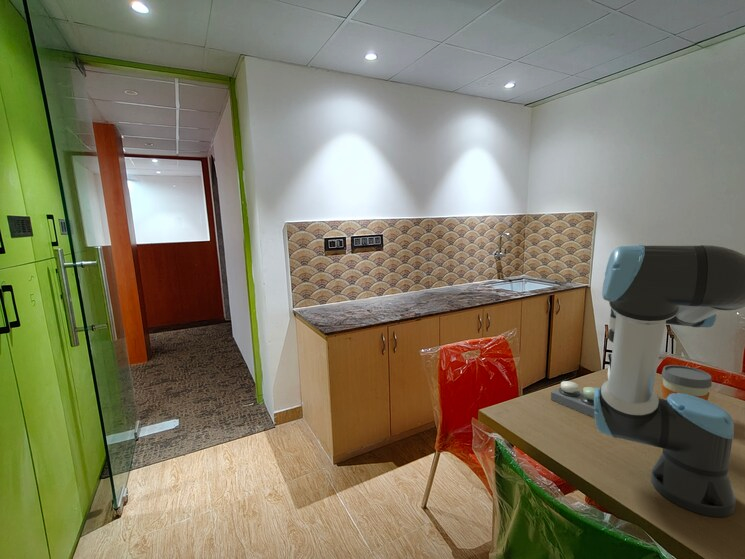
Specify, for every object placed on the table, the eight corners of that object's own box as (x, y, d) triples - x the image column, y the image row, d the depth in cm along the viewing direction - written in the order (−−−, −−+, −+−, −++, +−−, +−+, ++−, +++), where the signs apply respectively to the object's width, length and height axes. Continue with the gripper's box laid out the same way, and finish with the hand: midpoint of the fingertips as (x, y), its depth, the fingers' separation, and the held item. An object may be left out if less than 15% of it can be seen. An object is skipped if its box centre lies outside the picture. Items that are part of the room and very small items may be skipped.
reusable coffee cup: (717, 425, 111) (723, 381, 109) (672, 422, 114) (676, 379, 112) (690, 405, 124) (695, 365, 121) (650, 403, 126) (654, 363, 124)
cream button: (572, 394, 126) (573, 389, 126) (557, 388, 131) (557, 383, 130) (581, 390, 129) (581, 385, 129) (565, 384, 134) (566, 379, 133)
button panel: (623, 429, 111) (623, 419, 111) (550, 399, 131) (551, 390, 131) (637, 419, 116) (637, 409, 116) (565, 392, 136) (565, 383, 136)
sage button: (596, 401, 119) (597, 395, 119) (579, 395, 124) (580, 389, 124) (604, 396, 122) (605, 391, 122) (588, 390, 127) (588, 385, 126)
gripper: (627, 337, 106) (621, 409, 110) (645, 328, 113) (640, 396, 116) (600, 331, 112) (596, 399, 116) (619, 323, 119) (614, 388, 123)
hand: (618, 398), depth 116 cm, fingers closed
